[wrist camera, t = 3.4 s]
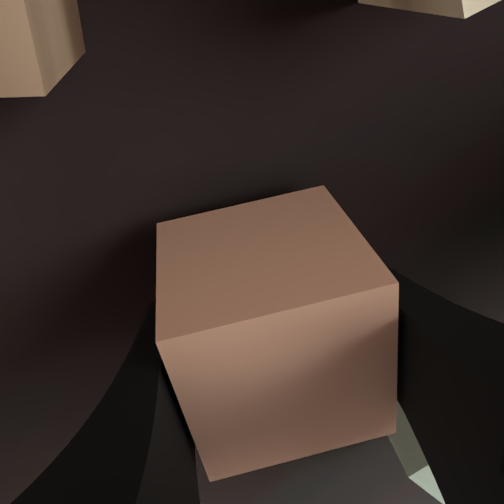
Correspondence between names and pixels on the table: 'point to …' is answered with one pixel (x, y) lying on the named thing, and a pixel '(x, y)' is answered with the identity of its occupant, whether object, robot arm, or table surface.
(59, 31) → the tan cube
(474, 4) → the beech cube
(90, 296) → the table surface
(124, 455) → the robot arm
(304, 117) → the table surface
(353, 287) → the terracotta cube
